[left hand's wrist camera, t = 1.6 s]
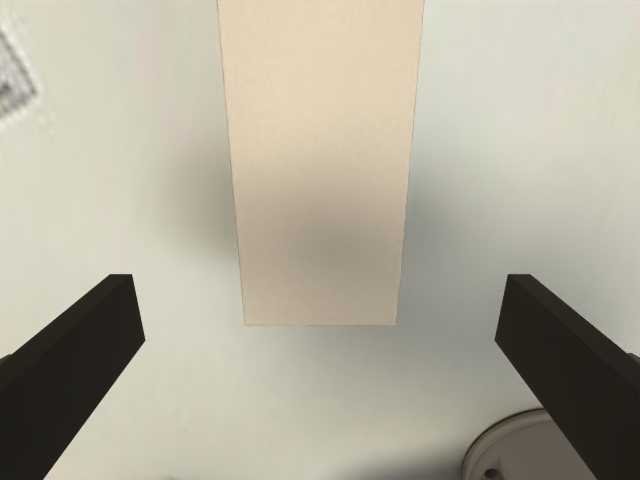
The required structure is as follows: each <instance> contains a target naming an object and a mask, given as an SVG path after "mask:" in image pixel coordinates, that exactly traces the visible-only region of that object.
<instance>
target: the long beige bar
mask: <svg viewBox="0 0 640 480" xmlns="http://www.w3.org/2000/svg"><path fill="white" fill-rule="evenodd" d="M217 9H218V21H219V32H220V44H221V56H222V67H223V79H224V90H225V102H226V114H227V125H228V137H229V149H230V160H231V172H232V183H233V195H234V207H235V218H236V230H237V242H238V253H239V265H240V276H241V288H242V300H243V311H244V323H245V325H396V320H397V309H398V297H399V286H400V274H401V263H402V251H403V240H404V228H405V217H406V205H407V194H408V182H409V171H410V159H411V148H412V136H413V125H414V113H415V102H416V91H417V79H418V68H419V56H420V45H421V33H422V22H423V10H424V0H217Z"/></svg>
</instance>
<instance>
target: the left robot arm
mask: <svg viewBox="0 0 640 480" xmlns="http://www.w3.org/2000/svg"><path fill="white" fill-rule="evenodd" d="M144 342H145V336H144V331H143V326H142V321H141V316H140V311H139V306H138V302H137V297H136V292H135V287H134V282H133V277H132V274H110V275H109V276H107V277H106V278H105V279H104V280H102V281H101V282H100V283H99V284H97V285H96V286H95V287H94V288H93V289H91V290H90V291H89V292H88V293H86V294H85V295H84V296H83V297H82V298H80V299H79V300H78V301H77V302H75V303H74V304H73V305H72V306H71V307H69V308H68V309H67V310H66V311H64V312H63V313H62V314H61V315H60V316H58V317H57V318H56V319H55V320H53V321H52V322H51V323H50V324H48V325H47V326H46V327H45V328H44V329H42V330H41V331H40V332H39V333H37V334H36V335H35V336H34V337H33V338H31V339H30V340H29V341H28V342H26V343H25V344H24V345H23V346H22V347H20V348H19V349H18V350H17V351H15V352H14V353H13V354H9V355H7V356H5V357H3V358H1V359H0V480H43V479H44V478H45V476H46V475H47V474H48V472H49V471H50V470H51V468H52V467H53V465H54V464H55V463H56V461H57V460H58V459H59V457H60V456H61V455H62V453H63V452H64V451H65V449H66V448H67V446H68V445H69V444H70V442H71V441H72V440H73V438H74V437H75V436H76V434H77V433H78V431H79V430H80V429H81V427H82V426H83V425H84V423H85V422H86V421H87V419H88V418H89V416H90V415H91V414H92V412H93V411H94V410H95V408H96V407H97V406H98V404H99V403H100V402H101V400H102V399H103V397H104V396H105V395H106V393H107V392H108V391H109V389H110V388H111V387H112V385H113V384H114V382H115V381H116V380H117V378H118V377H119V376H120V374H121V373H122V372H123V370H124V369H125V368H126V366H127V365H128V363H129V362H130V361H131V359H132V358H133V357H134V355H135V354H136V353H137V351H138V350H139V348H140V347H141V346H142V344H143V343H144ZM495 342H496V343H497V344H498V346H499V347H500V348H501V350H502V351H503V353H504V354H505V355H506V357H507V358H508V359H509V361H510V362H511V363H512V365H513V366H514V368H515V369H516V370H517V372H518V373H519V374H520V376H521V377H522V378H523V380H524V381H525V382H526V384H527V385H528V387H529V388H530V389H531V391H532V392H533V393H534V395H535V396H536V397H537V399H538V400H539V402H540V403H541V404H542V406H543V407H544V408H545V410H537V411H532V412H527V413H524V414H520V415H517V416H515V417H512V418H510V419H507V420H505V421H503V422H501V423H499V424H498V425H496V426H494V427H493V428H491V429H490V430H488V431H487V432H486V433H485V434H483V435H482V436H481V437H480V438H479V439H478V440H477V441H476V442H475V443H474V445H473V446H472V447H471V449H470V450H469V452H468V454H467V456H466V458H465V460H464V463H463V467H462V480H640V357H638V356H636V355H634V354H632V353H626V352H625V351H623V350H622V349H621V348H620V347H618V346H617V345H616V344H615V343H614V342H612V341H611V340H610V339H609V338H607V337H606V336H605V335H604V334H603V333H601V332H600V331H599V330H598V329H596V328H595V327H594V326H593V325H592V324H590V323H589V322H588V321H587V320H585V319H584V318H583V317H582V316H580V315H579V314H578V313H577V312H576V311H574V310H573V309H572V308H571V307H569V306H568V305H567V304H566V303H565V302H563V301H562V300H561V299H560V298H558V297H557V296H556V295H555V294H554V293H552V292H551V291H550V290H549V289H547V288H546V287H545V286H544V285H543V284H541V283H540V282H539V281H538V280H536V279H535V278H534V277H533V276H531V275H530V274H508V277H507V282H506V287H505V292H504V297H503V302H502V306H501V311H500V316H499V321H498V326H497V331H496V336H495Z"/></svg>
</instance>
